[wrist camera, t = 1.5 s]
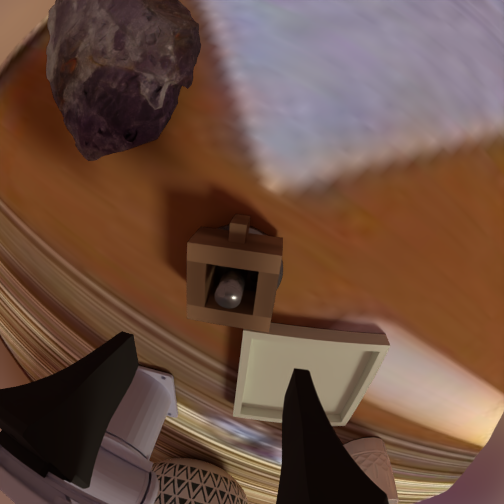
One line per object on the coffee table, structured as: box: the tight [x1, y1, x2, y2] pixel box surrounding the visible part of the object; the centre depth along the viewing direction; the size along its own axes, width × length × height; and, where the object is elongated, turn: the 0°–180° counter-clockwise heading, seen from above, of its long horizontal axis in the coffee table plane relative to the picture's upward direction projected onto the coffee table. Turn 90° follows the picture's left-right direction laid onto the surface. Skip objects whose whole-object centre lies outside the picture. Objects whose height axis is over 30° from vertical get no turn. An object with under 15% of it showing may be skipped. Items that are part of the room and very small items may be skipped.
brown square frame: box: [187, 214, 283, 332], centre depth 19 cm, size 6×7×3 cm
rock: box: [46, 0, 201, 161], centre depth 12 cm, size 12×9×10 cm
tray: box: [233, 323, 390, 426], centre depth 24 cm, size 12×12×2 cm
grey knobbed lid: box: [214, 225, 283, 309], centre depth 19 cm, size 6×6×4 cm
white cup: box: [343, 437, 399, 504], centre depth 25 cm, size 8×8×10 cm
